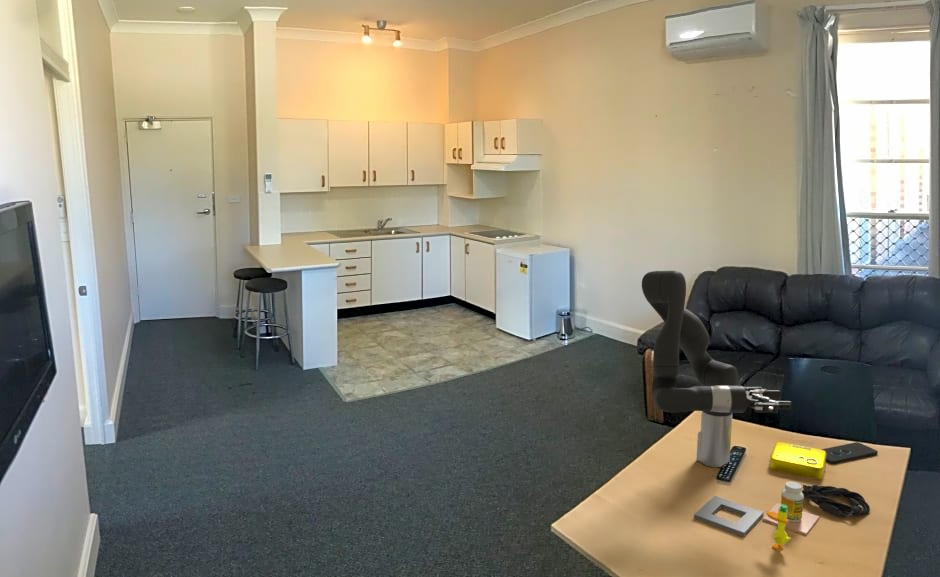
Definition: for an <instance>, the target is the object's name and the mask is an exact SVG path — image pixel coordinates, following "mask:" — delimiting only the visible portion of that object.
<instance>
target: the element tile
mask: <svg viewBox="0 0 940 577" xmlns="http://www.w3.org/2000/svg"><path fill="white" fill-rule="evenodd" d="M826 455H827V453H826V452H825V451H824V450H821V449H819V448H816V447H810V446H804V445H799V444H794V443H787V442H783V441H778V442H776V443H775V444H774V446H773V449H772V452H771V453H770V458H769V459H770V460H769V469H770V470H772V471H774V472H778V473H783V474H787V475H788V474H789V475H793V476H798V477H803V478H806V479H807V478H808V479H812V480H817V481H818V480H819V481H820V480H823V478H824V475H825V469H826V464H827V462H826Z"/></svg>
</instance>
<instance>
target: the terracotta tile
mask: <svg viewBox="0 0 940 577" xmlns="http://www.w3.org/2000/svg"><path fill="white" fill-rule="evenodd" d="M779 507H781V503H779V502H776V503H775V505H774V506H773V507H771V509H770V510H769V511H772V512H775V513H778V510H779V509H778V508H779ZM819 520H820V515H816V514H814V513H809V512H807V511H804V510H803V511H802V519H801V521H799V522H790V521H789V522H788V524H786V526H785V529H787V530H790V531H793V532H796V533H798V534H801V535H804V536H807V535H808V534H809V533H810V531H811V530H812V528H813V527H814V526H815V525H816V524H817V522H818V521H819ZM762 521H763V522H766V523H769V524H772V525H775V526H778V522H777V521H775V520H773V519H771V518H769V517H768V515H767V514H766V513H765V515H764V516H763V517H762Z"/></svg>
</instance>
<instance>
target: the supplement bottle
mask: <svg viewBox="0 0 940 577" xmlns="http://www.w3.org/2000/svg"><path fill="white" fill-rule="evenodd" d="M802 491H803V485H801V484H800V483H798V482H795V481H786V482H785V485H784V489H783V490H782V491H781V500H780V504H784V505H786V506H787V510H788V512H787V519H788V520H789V521H790V522H799V521H801V519H802V511H804V510H803V509H804V499H805V496H804V495H805V494H803V493H802Z"/></svg>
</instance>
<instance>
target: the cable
mask: <svg viewBox="0 0 940 577" xmlns="http://www.w3.org/2000/svg"><path fill="white" fill-rule="evenodd" d="M801 492H802V493H803V495H804V498H806V499H809V500H810V501H811V502H812V503H814V504H816V505H817V506H818V507H819V508H820V509H821V510H822V511H824V512H826V513H828V514H831V515H833V516H835V517H837V518H840V517H841V518H849V516H855V517H864V516H865V517H866V516H868V515H869V514H870V512H871V508H870V505H869V503H867V502H866V498H864V497H863V496H862V494H860V493H858V492H856V491H851V490H849V489H848V488H846V487H836V486H833V485H832V486H831V485H818V484H813V485H807V484H803V485H802V491H801ZM827 496H834V497H835V496H836V497H843V498H844V499H845V498H846V499H847V501H848V502H849V503H850V504H851V505H853V506H850V505H848V504H845V503H842V502H839V501H837V500H835V499H832V497H831V498H830V497H827Z"/></svg>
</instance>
